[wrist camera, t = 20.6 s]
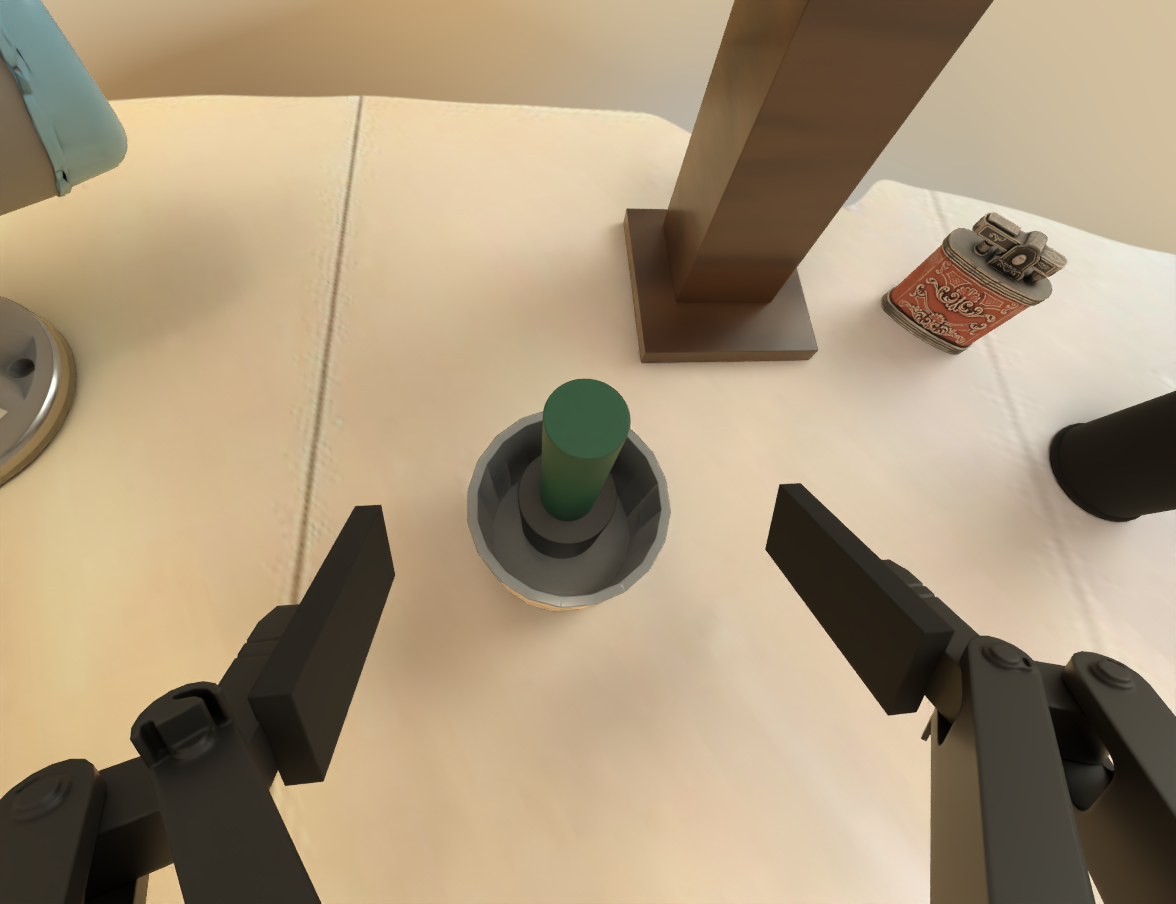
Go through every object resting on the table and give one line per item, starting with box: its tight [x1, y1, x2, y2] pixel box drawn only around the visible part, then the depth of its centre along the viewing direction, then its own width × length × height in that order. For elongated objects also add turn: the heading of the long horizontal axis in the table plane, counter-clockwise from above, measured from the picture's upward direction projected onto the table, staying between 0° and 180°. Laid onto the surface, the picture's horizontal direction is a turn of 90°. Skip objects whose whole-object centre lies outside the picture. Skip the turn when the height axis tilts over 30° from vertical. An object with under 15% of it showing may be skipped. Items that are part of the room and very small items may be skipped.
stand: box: [624, 0, 993, 363], centre depth 26 cm, size 15×14×31 cm
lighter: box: [881, 212, 1067, 354], centre depth 37 cm, size 8×3×10 cm, turn 52°
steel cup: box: [468, 411, 671, 611], centre depth 28 cm, size 10×10×10 cm
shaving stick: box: [518, 379, 630, 559], centre depth 24 cm, size 17×5×5 cm
